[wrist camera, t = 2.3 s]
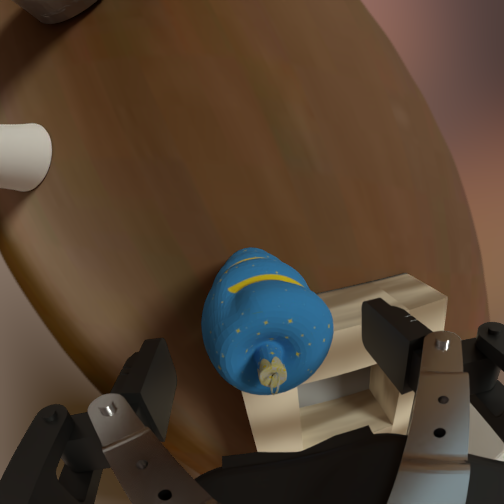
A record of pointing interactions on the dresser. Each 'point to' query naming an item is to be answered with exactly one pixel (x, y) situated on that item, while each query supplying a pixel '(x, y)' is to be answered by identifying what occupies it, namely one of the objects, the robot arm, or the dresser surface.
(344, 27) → the dresser surface
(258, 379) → the ornament
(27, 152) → the cosmetic bottle
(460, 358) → the robot arm
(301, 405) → the socket block
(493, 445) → the skincare box
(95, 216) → the dresser surface
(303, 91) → the dresser surface
